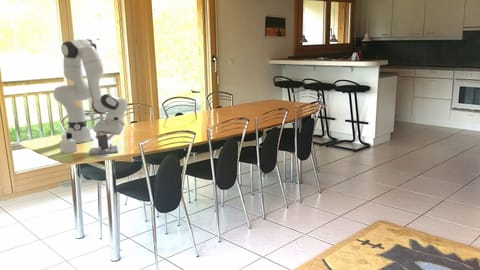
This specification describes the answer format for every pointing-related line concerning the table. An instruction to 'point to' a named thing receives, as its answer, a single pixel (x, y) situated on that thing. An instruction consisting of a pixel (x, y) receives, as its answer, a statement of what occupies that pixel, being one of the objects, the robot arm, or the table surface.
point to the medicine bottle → (67, 143)
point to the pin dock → (98, 150)
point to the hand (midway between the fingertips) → (102, 138)
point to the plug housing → (103, 141)
